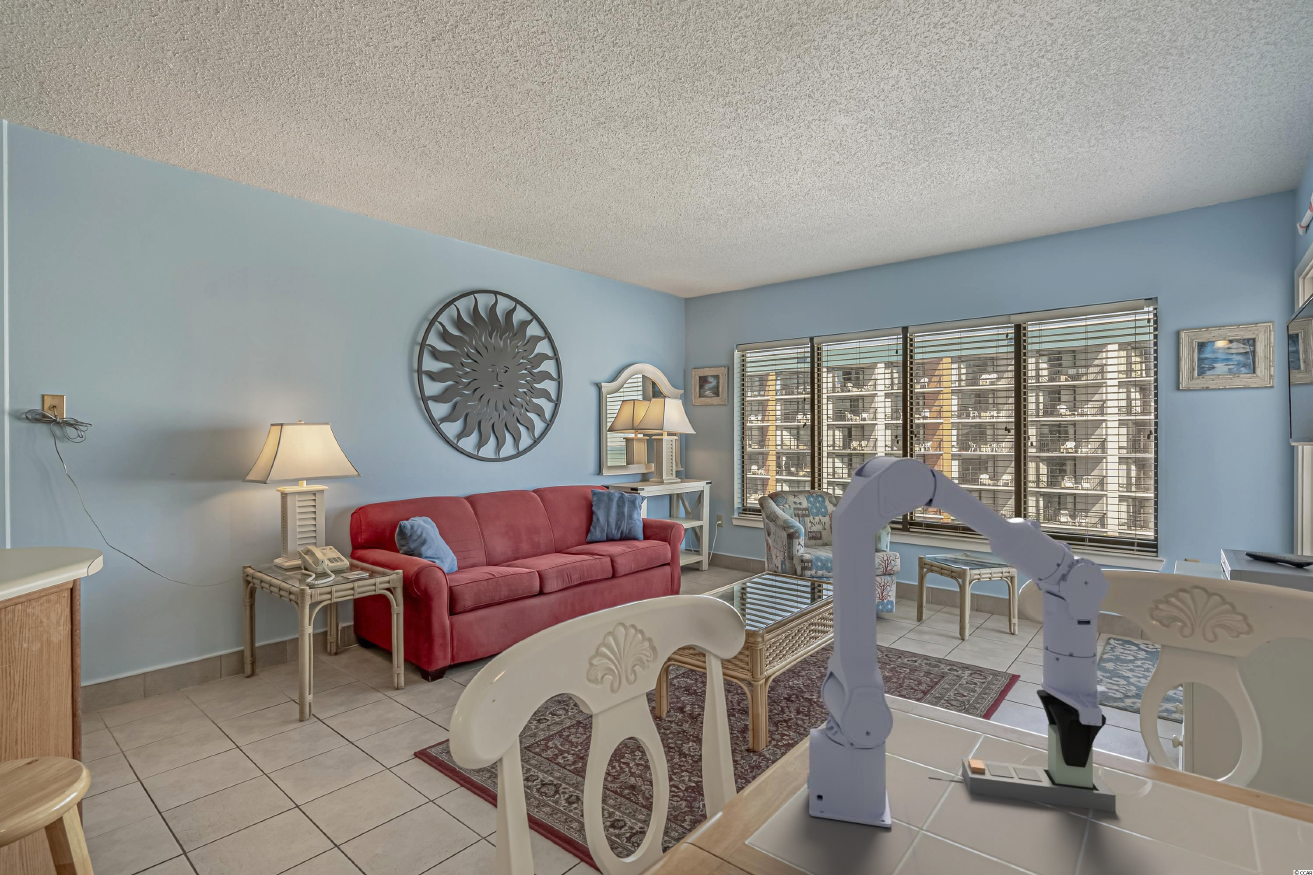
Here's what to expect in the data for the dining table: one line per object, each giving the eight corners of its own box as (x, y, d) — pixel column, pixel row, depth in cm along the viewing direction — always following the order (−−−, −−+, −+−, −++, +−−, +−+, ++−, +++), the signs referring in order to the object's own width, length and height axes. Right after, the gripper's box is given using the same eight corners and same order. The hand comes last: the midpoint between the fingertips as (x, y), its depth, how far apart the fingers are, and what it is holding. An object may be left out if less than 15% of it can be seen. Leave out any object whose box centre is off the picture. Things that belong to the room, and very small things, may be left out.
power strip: (931, 795, 82) (931, 767, 82) (926, 775, 87) (925, 748, 87) (1115, 819, 76) (1115, 789, 76) (1099, 797, 81) (1098, 769, 81)
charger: (1055, 782, 79) (1055, 726, 79) (1048, 770, 82) (1047, 716, 82) (1092, 787, 78) (1092, 730, 78) (1083, 775, 81) (1083, 719, 81)
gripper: (1132, 673, 72) (1133, 793, 72) (1084, 635, 86) (1084, 735, 86) (1061, 667, 74) (1062, 784, 74) (1025, 631, 88) (1025, 729, 88)
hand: (1069, 758), depth 80 cm, fingers closed on charger, 3 cm apart
